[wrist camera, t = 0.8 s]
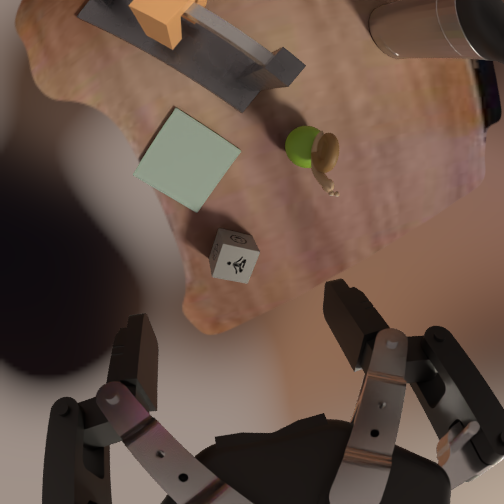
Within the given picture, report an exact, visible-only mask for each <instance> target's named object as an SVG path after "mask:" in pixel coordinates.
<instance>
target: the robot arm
mask: <svg viewBox="0 0 504 504" xmlns="http://www.w3.org/2000/svg"><path fill="white" fill-rule="evenodd" d="M369 28H370V32H371V35H372V38H373V39H374V41H375V43H376V44H377V46H378V47H379V48H380V49H381V50H382V51H383V52H384V53H385V54H387V55H388V56H391V57H393V58H397V59H406V58H462V59H480V60H492V61H498V62H500V63H503V64H504V3H503V1H502V0H400V1H396V2H392V3H389V4H386V5H382V6H379V7H377V8H375V9H374V10H373V11H372V13H371V15H370V19H369ZM323 313H324V317H325V320H326V322H327V323H328V325H329V327H330V329H331V331H332V332H333V334H334V336H335V338H336V340H337V341H338V343H339V345H340V347H341V348H342V350H343V352H344V354H345V356H346V358H347V359H348V361H349V363H350V365H351V367H352V369H353V370H354V372H356V371H358V370H361V369H363V371H364V373H365V375H364V378H363V382H362V385H361V389H360V392H359V396H358V400H357V403H356V406H355V409H354V412H353V415H352V418H351V421H350V422H347V421H342V420H332V419H326V417H325V415H324V413H323V414H319V415H316V416H312V417H309V418H305V419H301V420H298V421H296V422H294V423H292V424H290V425H288V426H286V427H284V428H282V429H280V430H278V431H276V432H273V433H237V434H231V435H224V436H218V437H215V441H216V444H214V445H211V446H209V447H207V448H205V449H204V450H202V451H201V452H200V453H199V454H197V455H196V456H195V457H194V456H193V455H192V454H191V453H189V452H188V451H187V450H186V449H185V448H184V447H183V446H182V445H181V444H180V443H179V442H178V441H177V440H176V439H175V438H174V437H173V436H172V435H171V434H170V433H169V432H168V431H167V430H166V429H165V428H164V427H163V426H162V425H161V424H160V423H159V422H158V421H157V420H156V419H155V418H153V417H152V416H151V415H150V414H149V411H157V381H158V380H157V379H158V343H157V339H156V336H155V333H154V331H153V329H152V326H151V324H150V321H149V318H148V316H147V314H146V313H144V314H137V315H130V316H129V319H128V324H127V328H120V330H119V332H118V333H117V334H116V336H115V339H114V343H113V349H112V356H111V359H110V365H109V371H108V377H107V382H106V384H104V385H103V386H102V387H100V388H99V390H98V392H97V394H96V397H94V398H91V399H88V400H85V401H82V402H79V403H77V402H76V401H75V399H73V398H71V397H63V398H60V399H58V400H57V401H56V402H55V403H54V405H53V406H52V408H51V412H50V418H49V425H48V432H47V439H46V447H45V458H44V470H43V489H42V504H112V498H111V482H110V451H109V450H110V445H111V444H113V443H117V442H120V441H122V442H123V443H124V444H125V446H126V447H127V448H128V450H129V451H130V452H131V453H132V455H133V456H134V457H135V458H136V459H137V461H138V462H139V463H140V464H141V465H142V467H143V468H144V469H145V470H146V471H147V472H148V473H149V474H150V476H151V477H152V478H153V479H154V480H155V481H156V482H157V483H158V484H159V485H160V486H161V488H162V489H163V490H164V491H165V492H166V493H167V494H168V495H167V496H166V497H165V499H164V500H163V501H162V503H161V504H450V496H451V490H452V489H454V488H455V487H457V486H459V485H460V484H462V483H464V482H469V481H471V480H474V479H475V478H477V477H478V476H480V475H481V474H483V473H484V472H485V471H487V470H489V469H490V468H492V467H493V466H494V465H496V464H497V463H498V462H500V461H501V460H502V459H503V458H504V409H503V407H502V406H501V404H500V403H499V401H498V399H497V398H496V396H495V395H494V394H493V392H492V390H491V389H490V387H489V386H488V384H487V383H486V381H485V380H484V378H483V377H482V375H481V374H480V372H479V371H478V369H477V368H476V367H475V365H474V364H473V362H472V361H471V360H470V358H469V357H468V355H467V354H466V353H465V351H464V350H463V349H462V347H461V346H460V345H459V343H458V342H457V341H456V339H455V338H454V337H453V335H452V334H451V333H450V332H449V331H448V330H447V329H446V328H444V327H440V326H432V327H429V328H428V329H427V330H426V332H425V334H424V336H412V337H407V336H406V335H405V334H404V333H403V332H401V331H400V330H397V329H394V328H390V327H389V326H388V325H387V323H386V322H385V321H384V319H383V318H382V317H381V315H380V314H379V313H378V312H377V310H376V309H375V308H374V307H373V305H372V303H371V302H370V301H369V300H368V298H367V297H366V296H365V294H364V293H363V292H361V291H360V290H358V289H357V288H355V287H352V288H349V287H348V285H347V284H346V282H345V281H344V280H343V279H337V280H333V281H328V282H326V283H325V290H324V302H323ZM406 383H410V385H411V387H412V389H413V391H414V392H415V394H416V396H417V398H418V400H419V402H420V403H421V405H422V407H423V409H424V411H425V413H426V415H427V417H428V419H429V420H430V422H431V424H432V426H433V428H434V430H435V432H436V434H437V436H438V438H439V442H438V444H437V448H436V451H437V459H438V464H437V463H435V462H433V461H431V460H429V459H426V458H424V457H422V456H419V455H417V454H415V453H412V452H410V451H408V450H406V449H404V448H402V447H399V446H397V445H395V441H396V437H397V433H398V428H399V423H400V418H401V413H402V408H403V402H404V396H405V390H406Z"/></svg>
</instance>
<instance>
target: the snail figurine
mask: <svg viewBox="0 0 504 504" xmlns="http://www.w3.org/2000/svg"><path fill="white" fill-rule="evenodd" d="M285 150H286V154H287V156H288V158H289V159H290V160H291V161H292V162H293V163H294V164H296V165H297V166H300V167H303V168H311V169H312V172H313V174H314V176H315V178H316V180H317V181H318V182H319V184H320V185H322V188H323V190H325V191H326V192H328V193H329V195H330V196H333V195H335V196H339V192H335V193H334V192H333V189H334V183H333V181H332V180H331V179H328V178H327V176H326V175H325V173H326V172H329V171H331V170H332V169H333V168H334V166H335V164H336V162H337V160H338V156H339V143H338V140H337V138H336V136H335V135H334V134H332V133H325V134H324V133H323V131H320V130H318V129H317V128H315V127H312V126H301V127H298V128H296V129H294V130H293V131H291V132H290V134H289V135H288V137H287V139H286V142H285Z"/></svg>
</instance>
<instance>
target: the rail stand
mask: <svg viewBox="0 0 504 504" xmlns="http://www.w3.org/2000/svg"><path fill="white" fill-rule="evenodd" d="M132 1H133V0H89V2H88V3H87V4H86V5H85V7H84V8H83V9H82V10H81V12H80V13H79V14H78V16H77V18H79V19H81V20H83V21H85V22H88V23H90V24H92V25H94V26H96V27H98V28H100V29H102V30H104V31H107V32H109V33H111V34H113V35H115V36H117V37H118V38H120V39H122V40H124V41H126V42H128V43H130V44H132V45H134V46H136V47H137V48H139V49H141V50H143V51H145V52H146V53H148V54H150V55H152V56H154V57H155V58H157V59H159V60H161V61H162V62H164V63H166V64H167V65H169V66H171V67H172V68H174V69H176V70H177V71H179V72H181V73H182V74H184V75H185V76H187V77H189V78H190V79H192V80H193V81H195V82H196V83H198V84H200V85H201V86H203V87H204V88H206V89H207V90H209V91H210V92H212V93H213V94H215V95H216V96H218V97H219V98H221V99H222V100H224V101H225V102H227V103H228V104H229V105H231V106H232V107H234V108H235V109H237V110H238V111H239V112H241V113H243V112H244V110H245V109H246V108H247V106H248V105H249V104H250V103H251V101H252V100H253V99H254V98H255V96H256V95H257V94H258V93H259V91H260V90H266V89H273V88H281V87H289V85H290V84H291V83H292V82H293V81H294V79H295V78H296V77H297V76H298V75H299V73H300V72H301V71H302V70H303V69H304V68H305V66H306V65H305V64H303V63H302V62H301V61H300V60H299V59H297V58H296V57H295V56H294V55H293V54H291V53H290V52H289V51H288V50H286V49H285V48H284V47H282V48H280V49H278V50H276V51H274V52H272V53H271V52H270V51H268V50H267V49H266V48H264V47H263V46H261V45H260V44H259V43H257V42H256V41H255V40H253V39H252V38H250V37H249V36H248V35H246V34H245V33H243V32H242V31H240V30H239V29H237V28H236V27H234V26H233V25H231V24H230V23H228V22H227V21H225V20H223V19H222V18H220V17H219V16H217V15H215V14H214V13H212V12H211V11H209V10H207V9H206V8H204V7H202V6H200V5H199V4H197V3H195V2H194V3H193V4H192V5H191V6H190V7H189V8H188V9H187V10H186V11H185V12H184V13H183V14H182V15H184V16H185V17H187V18H189V19H191V20H192V21H194V22H196V23H195V24H193V23H191V22H190V21H188V20H186V19H184V18H183V17H181V34H182V39H181V41H180V42H179V43H178V44H177V45H176V47H175V48H174V49H173V50H172V49H170V48H168V47H166V46H165V45H163V44H161V43H159V42H158V41H156V40H154V39H152V38H150V37H149V36H147V35H146V34H145V32H144V31H143V29H142V27H141V25H140V24H139V22H138V20H137V19H136V17H135V15H134V14H133V12H132V10H131V9H130V7H129V5H130V3H131V2H132Z"/></svg>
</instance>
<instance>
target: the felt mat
mask: <svg viewBox="0 0 504 504" xmlns="http://www.w3.org/2000/svg"><path fill="white" fill-rule="evenodd" d="M240 152H241V150H239V149H238V148H236V147H235V146H234V145H232V144H231V143H229V142H228V141H226V140H225V139H223V138H222V137H220V136H219V135H217V134H216V133H214V132H213V131H211V130H210V129H208V128H207V127H205V126H204V125H202V124H201V123H199V122H198V121H196V120H195V119H193V118H191V117H190V116H188V115H187V114H185V113H184V112H182V111H180V110H179V109H177V108H176V109H175V110H174V111H173V113H172V114H171V116H170V117H169V119H168V120H167V122H166V123H165V124H164V126H163V127H162V129H161V130H160V132H159V133H158V135H157V136H156V138H155V140H154V141H153V143H152V144H151V146H150V147H149V149H148V150H147V152H146V154H145V155H144V157H143V159H142V160H141V162H140V163H139V165H138V167H137V169H136V170H135V172H134V174H133V176H135V177H137V178H139V179H140V180H142V181H144V182H145V183H147V184H149V185H150V186H152V187H154V188H156V189H157V190H159V191H161V192H162V193H164V194H166V195H167V196H169V197H171V198H173V199H174V200H176V201H178V202H179V203H181V204H183V205H184V206H186V207H188V208H189V209H191V210H193V211H195V212H196V213H197V212H198V211H199V209H200V208H201V206H202V205H203V204H204V202H205V201H206V199H207V198H208V196H209V195H210V194H211V192H212V191H213V189H214V188H215V187H216V185H217V184H218V182H219V181H220V180H221V178H222V177H223V175H224V174H225V173H226V171H227V170H228V169H229V167H230V166H231V164H232V163H233V162H234V160H235V159H236V158H237V156H238V155H239V154H240Z"/></svg>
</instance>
